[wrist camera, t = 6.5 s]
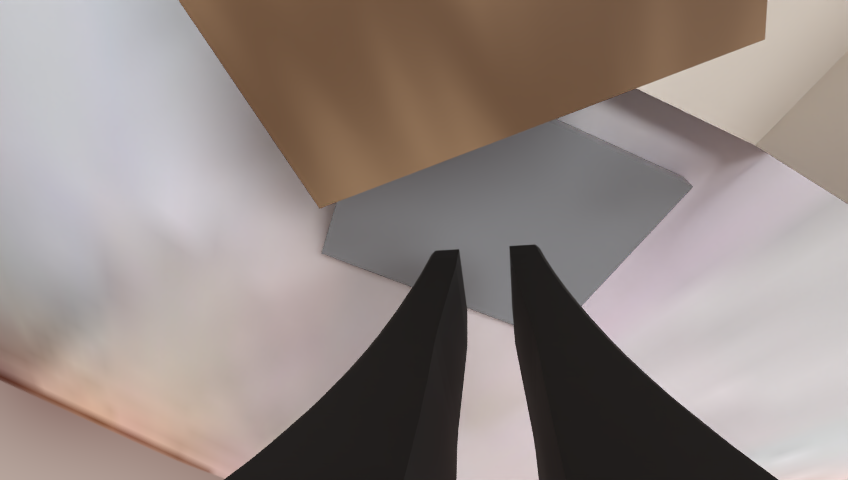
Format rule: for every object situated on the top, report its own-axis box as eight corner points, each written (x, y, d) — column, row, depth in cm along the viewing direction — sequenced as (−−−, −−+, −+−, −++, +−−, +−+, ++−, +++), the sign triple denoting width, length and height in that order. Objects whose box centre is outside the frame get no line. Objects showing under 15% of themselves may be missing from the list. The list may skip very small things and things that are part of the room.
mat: (683, 177, 11) (693, 186, 10) (548, 326, 15) (550, 338, 14) (388, 42, 10) (383, 46, 9) (327, 243, 14) (321, 253, 13)
